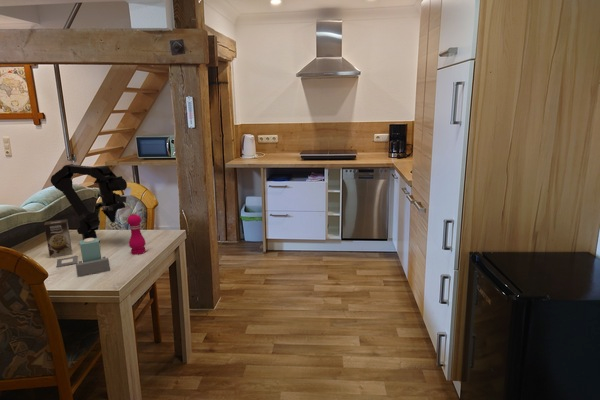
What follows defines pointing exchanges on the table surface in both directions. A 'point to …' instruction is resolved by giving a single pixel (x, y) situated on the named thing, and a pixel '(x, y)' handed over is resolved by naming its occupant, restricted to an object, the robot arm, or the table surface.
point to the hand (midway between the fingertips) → (113, 222)
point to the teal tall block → (90, 249)
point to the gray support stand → (92, 267)
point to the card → (67, 261)
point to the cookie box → (58, 238)
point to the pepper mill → (136, 235)
